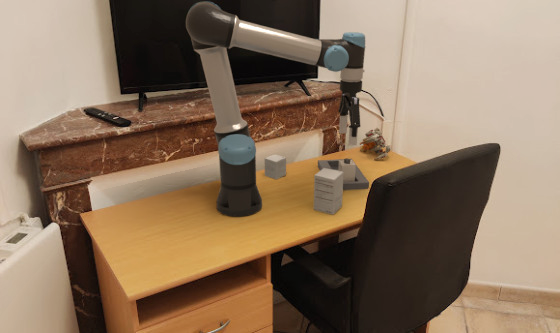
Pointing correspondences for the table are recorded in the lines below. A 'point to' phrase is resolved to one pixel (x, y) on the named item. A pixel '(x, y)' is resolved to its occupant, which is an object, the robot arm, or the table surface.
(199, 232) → the table surface
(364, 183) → the dark grey compartment tray
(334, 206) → the supplement box
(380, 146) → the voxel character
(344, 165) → the plug
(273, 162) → the product box
